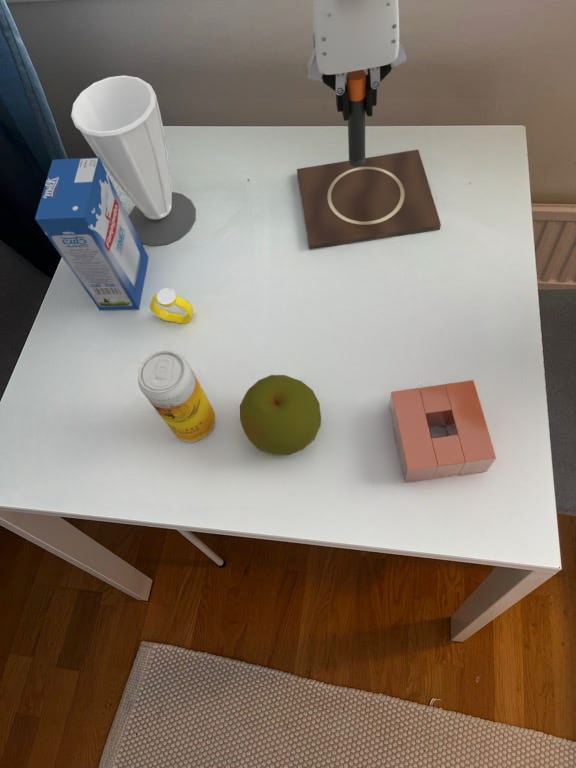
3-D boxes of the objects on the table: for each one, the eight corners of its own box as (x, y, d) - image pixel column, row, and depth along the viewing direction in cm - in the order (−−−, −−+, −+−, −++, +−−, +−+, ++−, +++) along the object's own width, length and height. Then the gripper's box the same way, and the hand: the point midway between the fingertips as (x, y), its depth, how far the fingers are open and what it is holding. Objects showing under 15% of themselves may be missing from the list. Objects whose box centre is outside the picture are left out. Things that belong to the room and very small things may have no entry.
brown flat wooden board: (417, 155, 95) (418, 148, 94) (439, 229, 88) (441, 223, 87) (297, 174, 96) (296, 167, 95) (309, 249, 89) (308, 243, 87)
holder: (466, 396, 75) (473, 379, 71) (487, 471, 71) (496, 458, 66) (388, 408, 76) (390, 391, 71) (404, 482, 71) (407, 470, 67)
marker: (363, 154, 87) (364, 66, 75) (366, 165, 86) (367, 78, 74) (347, 156, 87) (344, 70, 75) (350, 168, 86) (347, 82, 74)
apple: (338, 430, 75) (335, 394, 65) (284, 482, 73) (274, 453, 63) (284, 383, 79) (275, 342, 69) (232, 431, 77) (215, 396, 67)
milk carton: (110, 258, 92) (52, 159, 74) (148, 256, 91) (99, 156, 73) (99, 311, 88) (34, 219, 70) (139, 310, 87) (83, 217, 69)
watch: (154, 324, 86) (141, 301, 80) (160, 308, 87) (148, 285, 81) (193, 329, 84) (182, 306, 79) (198, 313, 86) (188, 290, 80)
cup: (168, 256, 91) (118, 145, 72) (113, 230, 94) (51, 118, 75) (210, 206, 95) (173, 88, 75) (155, 183, 98) (107, 65, 79)
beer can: (167, 441, 77) (128, 393, 64) (178, 399, 80) (142, 345, 66) (211, 446, 76) (180, 398, 63) (220, 404, 79) (193, 349, 65)
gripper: (422, -67, 64) (409, 83, 81) (278, -40, 65) (295, 103, 81) (437, -29, 61) (421, 120, 77) (285, -1, 62) (301, 140, 78)
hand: (356, 110), depth 79 cm, fingers closed on marker, 2 cm apart
